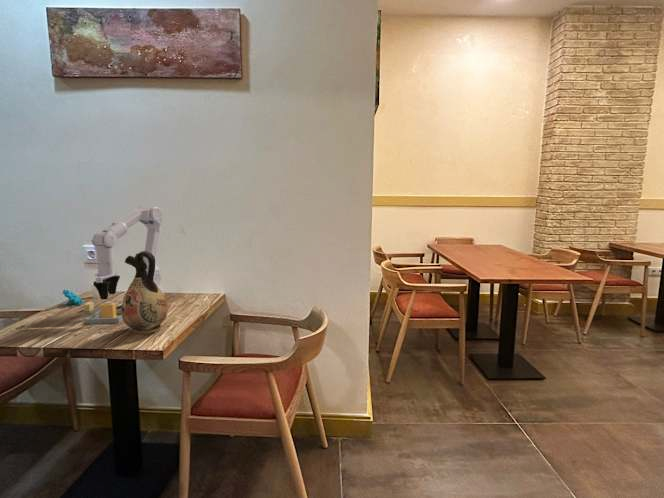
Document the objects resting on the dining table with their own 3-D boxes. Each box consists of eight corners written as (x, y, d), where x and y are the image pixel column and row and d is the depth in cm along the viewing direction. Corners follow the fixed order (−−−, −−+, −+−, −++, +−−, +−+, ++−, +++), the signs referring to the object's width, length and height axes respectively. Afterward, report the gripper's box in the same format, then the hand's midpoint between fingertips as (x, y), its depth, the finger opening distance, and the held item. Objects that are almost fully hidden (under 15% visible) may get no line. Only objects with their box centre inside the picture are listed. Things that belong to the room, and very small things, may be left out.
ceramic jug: (112, 334, 144) (106, 251, 140) (146, 321, 158) (142, 246, 154) (149, 341, 138) (143, 254, 134) (181, 327, 152) (177, 248, 148)
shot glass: (88, 298, 191) (87, 284, 190) (98, 294, 198) (97, 280, 197) (101, 299, 190) (100, 284, 189) (111, 295, 196) (110, 281, 195)
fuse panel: (118, 307, 176) (117, 299, 175) (108, 314, 166) (108, 306, 166) (89, 308, 175) (88, 300, 174) (77, 315, 165) (77, 306, 164)
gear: (81, 304, 175) (61, 289, 173) (70, 315, 174) (50, 300, 171) (88, 301, 185) (70, 287, 183) (78, 311, 184) (59, 297, 182)
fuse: (116, 317, 161) (115, 301, 160) (113, 319, 158) (112, 303, 157) (104, 317, 161) (103, 302, 160) (101, 320, 158) (100, 304, 157)
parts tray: (130, 315, 166) (130, 309, 166) (119, 324, 154) (118, 318, 154) (100, 315, 165) (99, 310, 164) (85, 325, 153) (85, 319, 153)
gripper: (102, 259, 164) (105, 292, 166) (85, 266, 150) (89, 301, 152) (121, 259, 165) (123, 291, 167) (106, 266, 151) (108, 301, 153)
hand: (108, 296), depth 159 cm, fingers open, 7 cm apart
